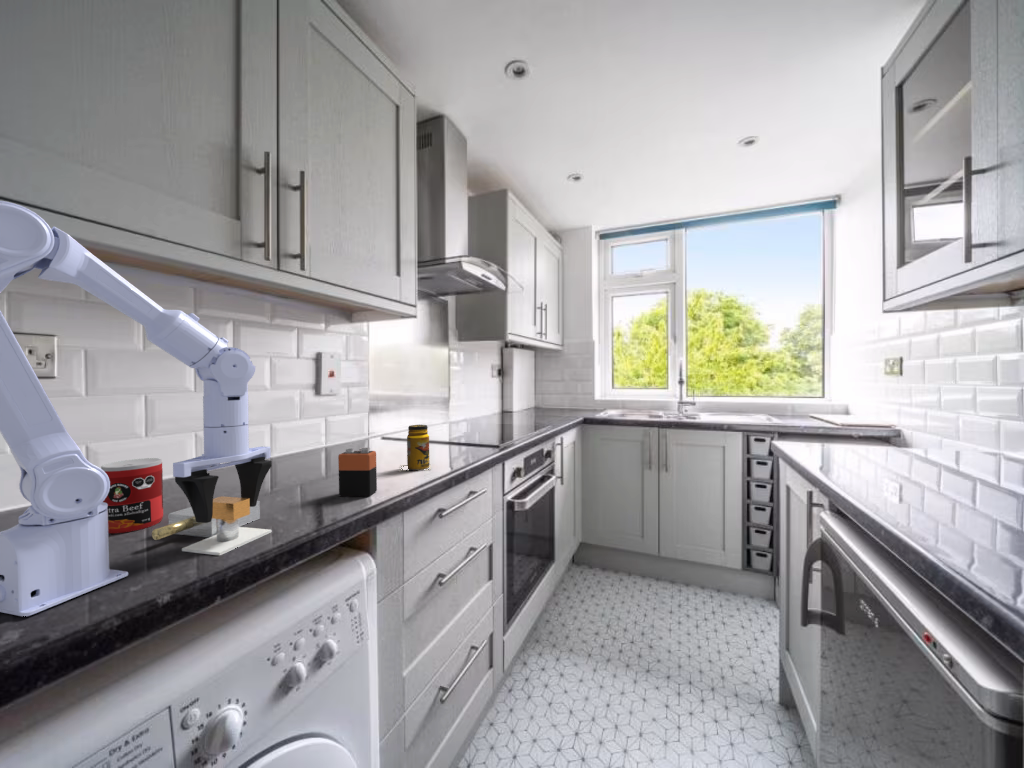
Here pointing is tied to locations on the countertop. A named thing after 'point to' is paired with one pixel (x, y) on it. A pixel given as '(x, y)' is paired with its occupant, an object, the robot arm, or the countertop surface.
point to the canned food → (134, 494)
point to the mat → (220, 548)
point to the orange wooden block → (229, 516)
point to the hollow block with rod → (197, 524)
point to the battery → (357, 473)
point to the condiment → (417, 448)
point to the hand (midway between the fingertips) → (227, 513)
